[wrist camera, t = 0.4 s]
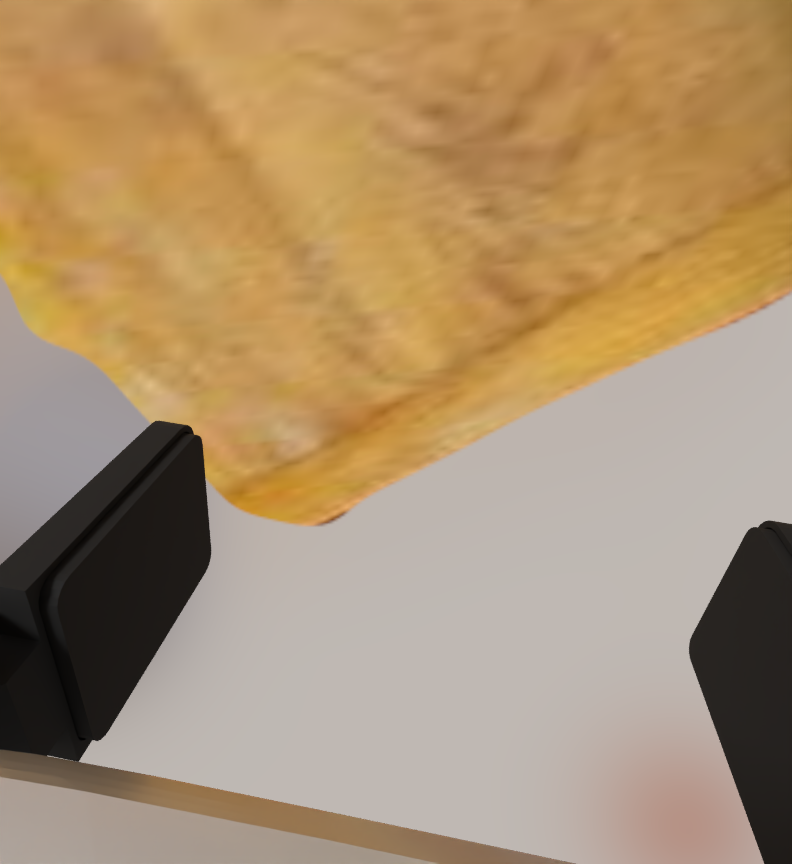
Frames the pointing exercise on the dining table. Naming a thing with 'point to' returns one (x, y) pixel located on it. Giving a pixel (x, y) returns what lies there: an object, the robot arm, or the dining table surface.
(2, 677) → the robot arm
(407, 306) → the dining table surface
